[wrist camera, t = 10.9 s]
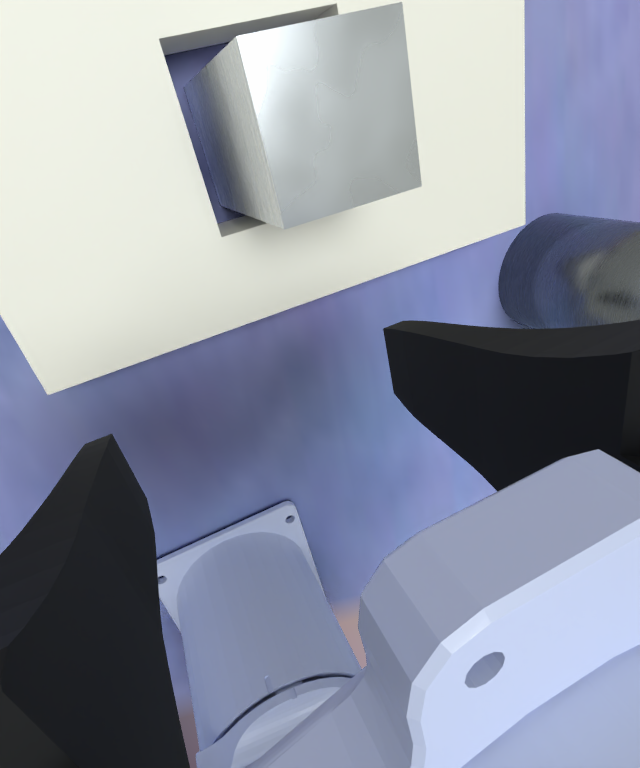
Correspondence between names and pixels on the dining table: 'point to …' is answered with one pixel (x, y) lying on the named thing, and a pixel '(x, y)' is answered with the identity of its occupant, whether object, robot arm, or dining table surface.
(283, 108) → the square steel peg
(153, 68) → the cream socket block
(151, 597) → the robot arm
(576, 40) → the dining table surface
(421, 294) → the dining table surface
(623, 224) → the round dark peg
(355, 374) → the dining table surface
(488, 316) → the dining table surface
